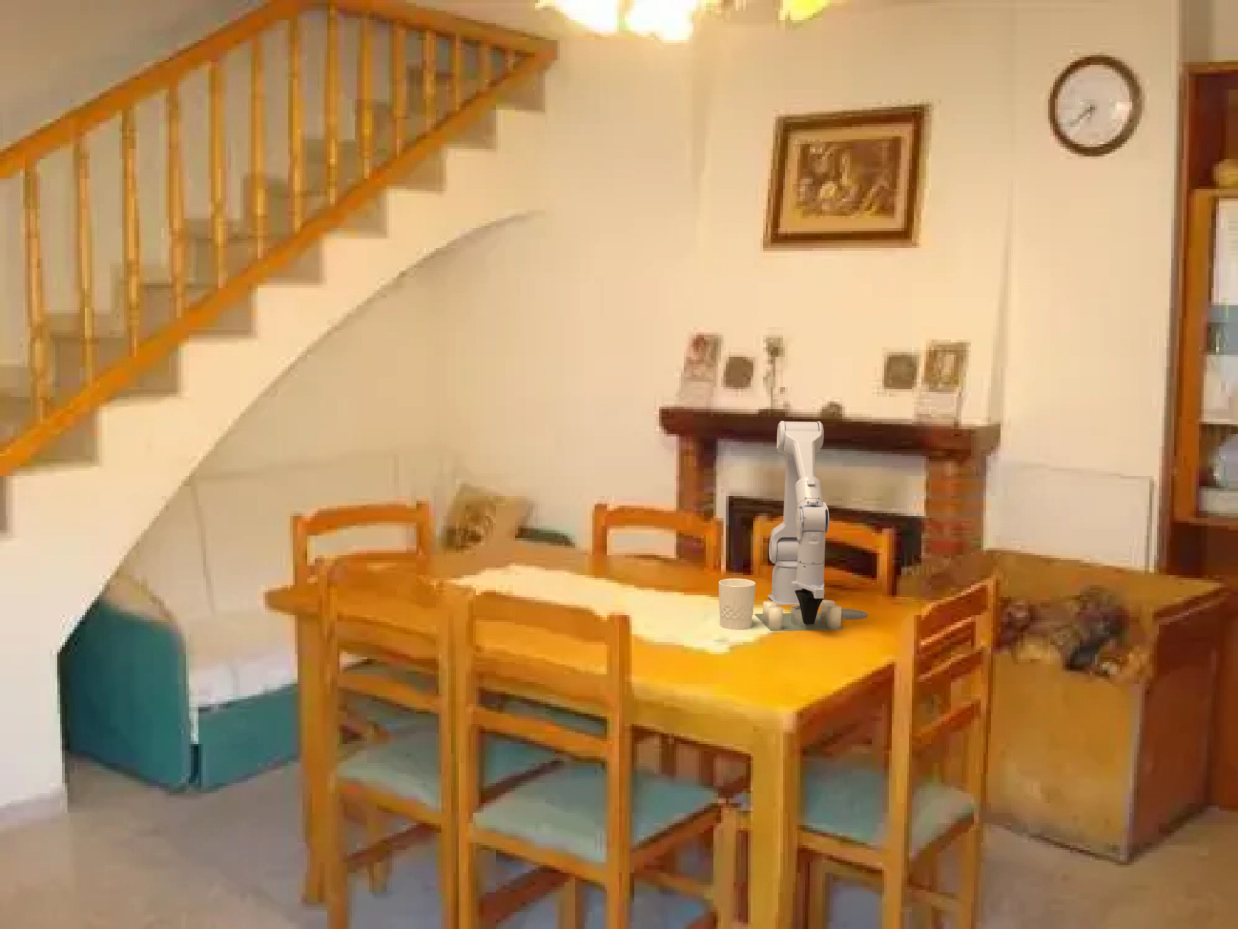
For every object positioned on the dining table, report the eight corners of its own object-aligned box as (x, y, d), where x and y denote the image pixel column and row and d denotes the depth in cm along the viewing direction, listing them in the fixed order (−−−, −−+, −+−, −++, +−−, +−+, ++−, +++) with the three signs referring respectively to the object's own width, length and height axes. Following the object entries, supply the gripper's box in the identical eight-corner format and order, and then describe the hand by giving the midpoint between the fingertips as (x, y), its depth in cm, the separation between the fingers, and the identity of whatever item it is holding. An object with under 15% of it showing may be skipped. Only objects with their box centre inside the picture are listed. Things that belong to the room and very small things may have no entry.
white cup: (724, 633, 301) (726, 587, 299) (712, 624, 308) (713, 579, 307) (759, 631, 303) (760, 585, 301) (746, 622, 310) (747, 577, 309)
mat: (753, 615, 316) (754, 613, 316) (822, 614, 319) (823, 612, 319) (770, 632, 302) (770, 630, 302) (843, 631, 304) (843, 629, 304)
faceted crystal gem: (789, 621, 310) (789, 605, 310) (809, 620, 311) (809, 605, 311) (795, 626, 305) (796, 611, 305) (815, 626, 306) (816, 610, 306)
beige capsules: (761, 621, 310) (761, 601, 309) (831, 619, 312) (832, 599, 312) (770, 630, 302) (770, 609, 301) (842, 628, 304) (843, 608, 304)
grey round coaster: (821, 611, 321) (822, 609, 321) (860, 610, 323) (860, 608, 322) (833, 621, 312) (833, 618, 312) (872, 620, 314) (872, 617, 314)
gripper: (783, 555, 308) (781, 615, 310) (802, 569, 294) (799, 632, 296) (815, 554, 309) (812, 615, 311) (834, 568, 295) (832, 632, 297)
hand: (808, 623), depth 303 cm, fingers closed
